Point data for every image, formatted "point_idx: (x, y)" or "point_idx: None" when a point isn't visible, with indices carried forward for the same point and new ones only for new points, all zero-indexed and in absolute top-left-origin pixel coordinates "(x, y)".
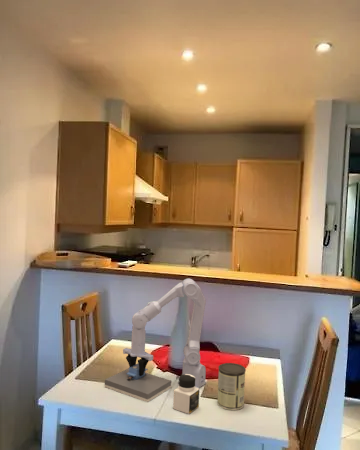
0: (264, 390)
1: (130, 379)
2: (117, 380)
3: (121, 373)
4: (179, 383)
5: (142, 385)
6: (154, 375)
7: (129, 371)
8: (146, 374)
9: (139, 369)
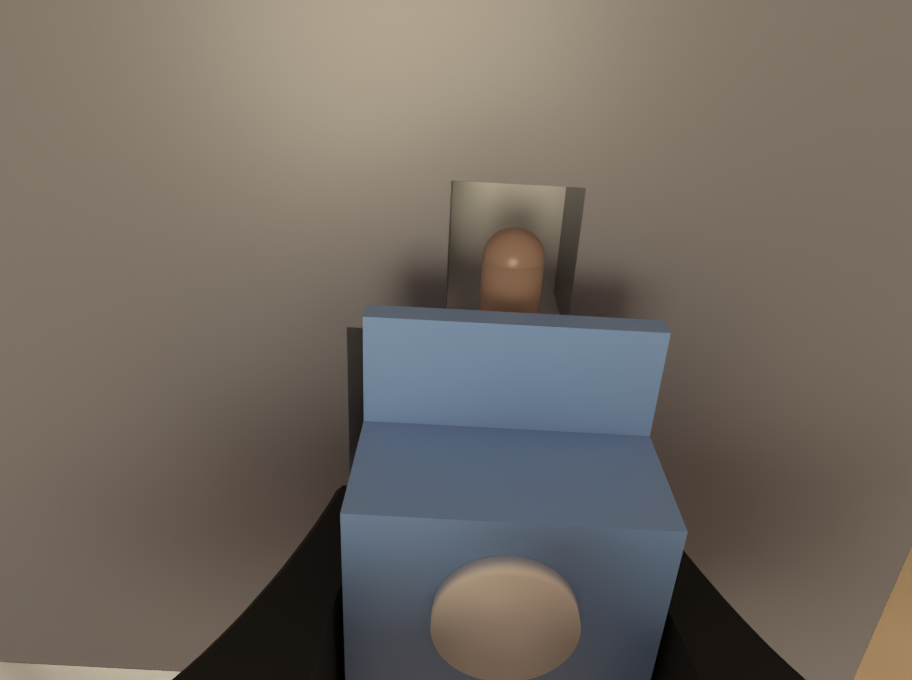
0: None
1: None
2: (787, 5)
3: (887, 431)
4: None
5: (7, 152)
6: None
7: (630, 447)
8: None
9: (323, 593)
